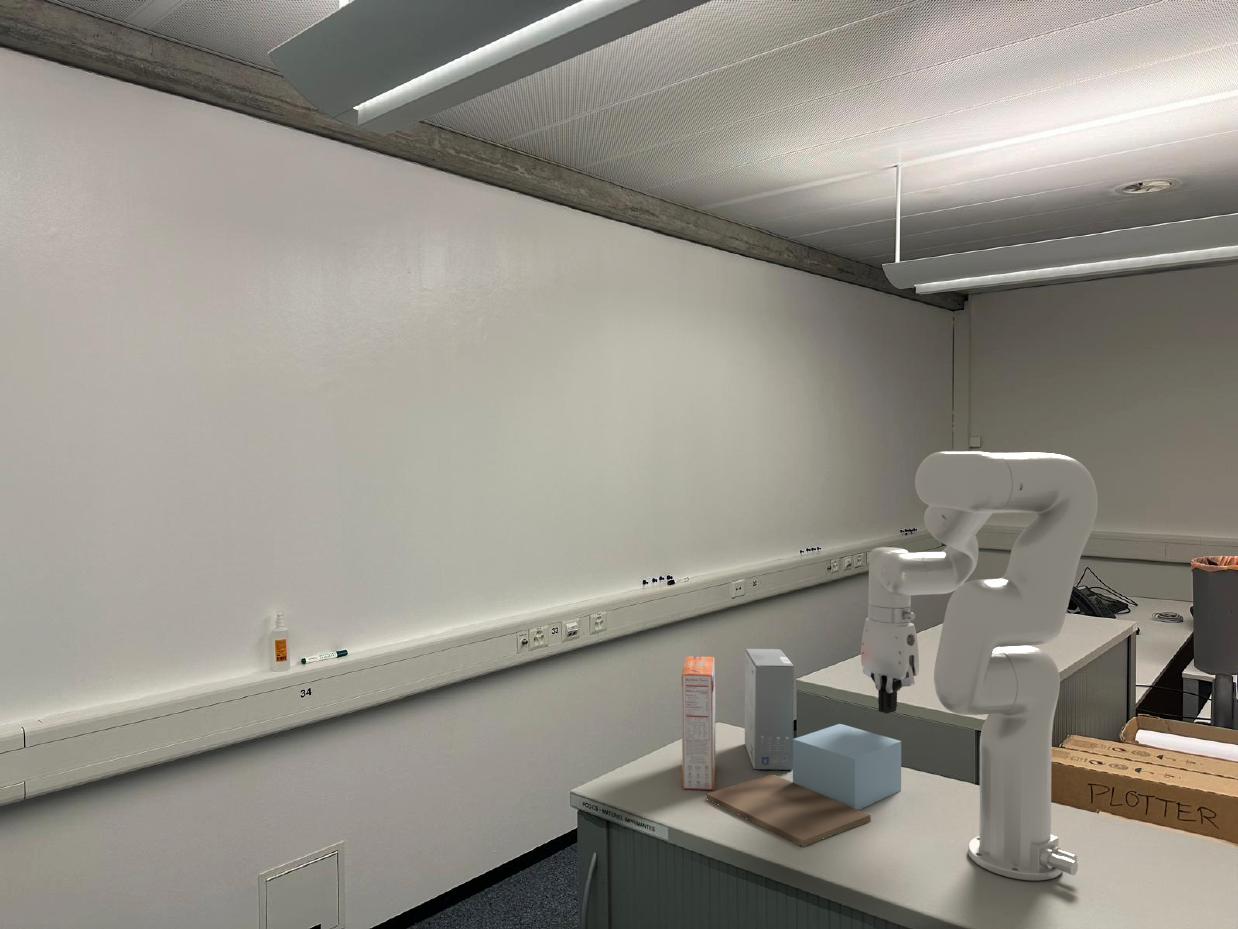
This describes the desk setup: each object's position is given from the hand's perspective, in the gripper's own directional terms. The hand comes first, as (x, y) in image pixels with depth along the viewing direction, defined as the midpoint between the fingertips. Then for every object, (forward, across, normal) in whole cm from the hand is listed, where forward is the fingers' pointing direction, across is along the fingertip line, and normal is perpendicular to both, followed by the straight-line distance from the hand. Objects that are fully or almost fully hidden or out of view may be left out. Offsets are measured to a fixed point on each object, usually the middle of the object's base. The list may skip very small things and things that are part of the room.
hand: (887, 711), depth 159 cm
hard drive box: (+12, +19, +12) cm, 26 cm away
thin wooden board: (+11, -1, +28) cm, 30 cm away
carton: (+12, -1, +12) cm, 17 cm away
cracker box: (+12, +19, +30) cm, 37 cm away
